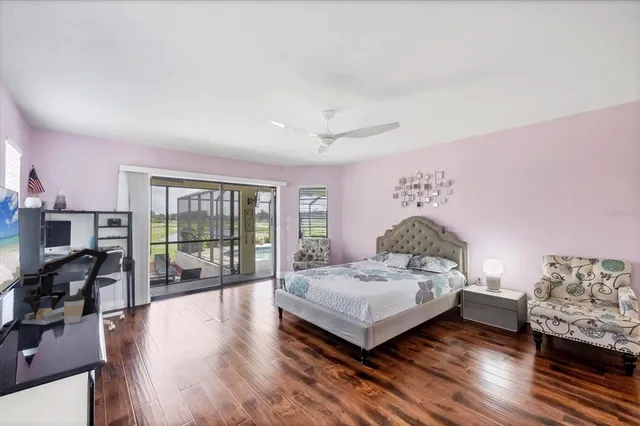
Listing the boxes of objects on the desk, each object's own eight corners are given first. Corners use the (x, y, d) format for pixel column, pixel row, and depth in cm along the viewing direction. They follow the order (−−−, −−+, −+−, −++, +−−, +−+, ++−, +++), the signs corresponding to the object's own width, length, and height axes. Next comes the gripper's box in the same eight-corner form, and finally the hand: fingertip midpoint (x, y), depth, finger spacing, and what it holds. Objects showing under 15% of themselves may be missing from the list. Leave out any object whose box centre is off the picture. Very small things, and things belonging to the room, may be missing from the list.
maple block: (51, 317, 159) (52, 308, 159) (44, 319, 155) (45, 309, 156) (42, 317, 159) (43, 307, 160) (36, 319, 156) (37, 309, 156)
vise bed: (64, 318, 162) (65, 310, 163) (45, 324, 151) (46, 316, 152) (42, 317, 163) (43, 309, 163) (21, 323, 152) (22, 315, 152)
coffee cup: (58, 322, 155) (61, 295, 156) (78, 318, 163) (80, 292, 164) (65, 325, 151) (68, 297, 152) (86, 321, 159) (88, 294, 160)
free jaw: (44, 316, 162) (44, 310, 162) (29, 320, 154) (29, 314, 154) (37, 315, 162) (37, 310, 162) (21, 319, 154) (22, 314, 154)
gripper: (50, 280, 168) (47, 306, 167) (15, 286, 150) (11, 315, 149) (67, 281, 168) (65, 307, 167) (34, 287, 149) (31, 316, 148)
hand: (44, 311), depth 157 cm, fingers open, 9 cm apart
